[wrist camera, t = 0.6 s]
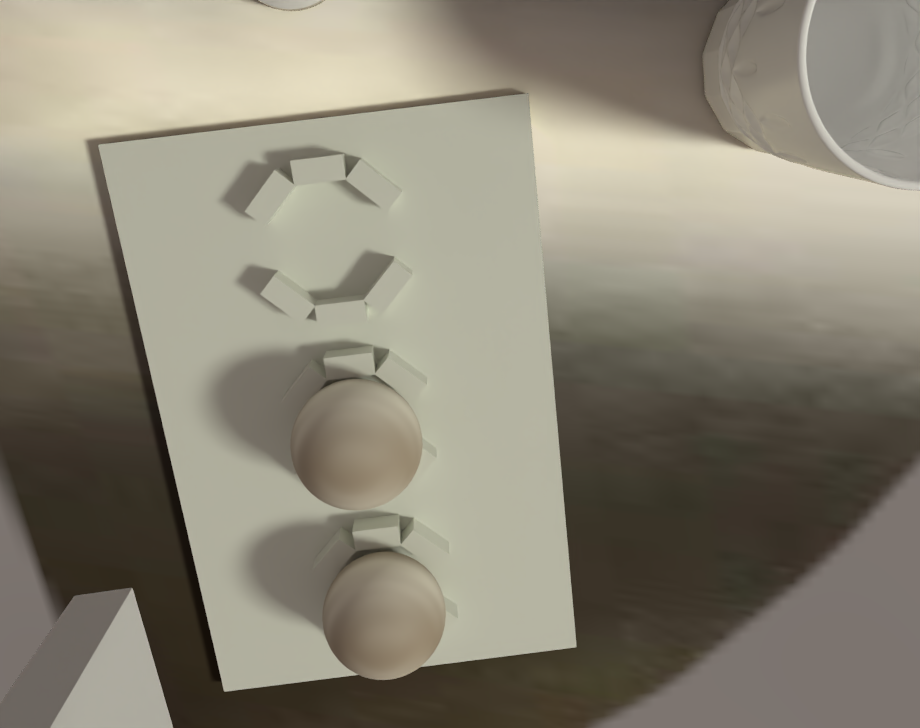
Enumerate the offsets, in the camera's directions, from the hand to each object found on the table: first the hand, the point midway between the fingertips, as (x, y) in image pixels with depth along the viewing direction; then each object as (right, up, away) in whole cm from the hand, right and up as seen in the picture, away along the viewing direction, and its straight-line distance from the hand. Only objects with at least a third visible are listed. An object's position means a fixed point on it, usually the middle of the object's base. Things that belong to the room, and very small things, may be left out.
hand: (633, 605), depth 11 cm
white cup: (+10, +15, +21) cm, 27 cm away
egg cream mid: (-6, +1, +23) cm, 24 cm away
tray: (-6, +1, +24) cm, 25 cm away
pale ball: (-6, -6, +25) cm, 27 cm away
